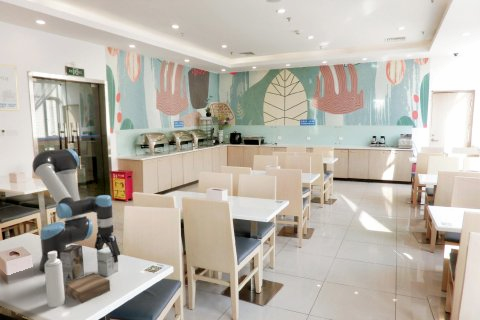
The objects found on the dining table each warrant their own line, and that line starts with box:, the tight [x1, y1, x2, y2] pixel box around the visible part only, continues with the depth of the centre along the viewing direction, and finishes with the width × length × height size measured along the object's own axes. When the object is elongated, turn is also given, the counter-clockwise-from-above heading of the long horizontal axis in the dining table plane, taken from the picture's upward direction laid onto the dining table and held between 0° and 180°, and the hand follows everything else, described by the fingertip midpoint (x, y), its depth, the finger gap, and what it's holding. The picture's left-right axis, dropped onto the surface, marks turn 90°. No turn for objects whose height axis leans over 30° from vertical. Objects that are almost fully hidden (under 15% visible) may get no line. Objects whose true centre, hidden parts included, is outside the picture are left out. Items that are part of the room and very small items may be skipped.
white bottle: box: [44, 251, 66, 308], centre depth 149 cm, size 7×7×25 cm
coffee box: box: [60, 244, 85, 283], centre depth 174 cm, size 9×6×16 cm
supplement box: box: [96, 246, 119, 278], centre depth 179 cm, size 7×7×13 cm
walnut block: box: [64, 272, 111, 304], centre depth 160 cm, size 14×14×5 cm
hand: (108, 264), depth 180 cm, fingers open, 13 cm apart
